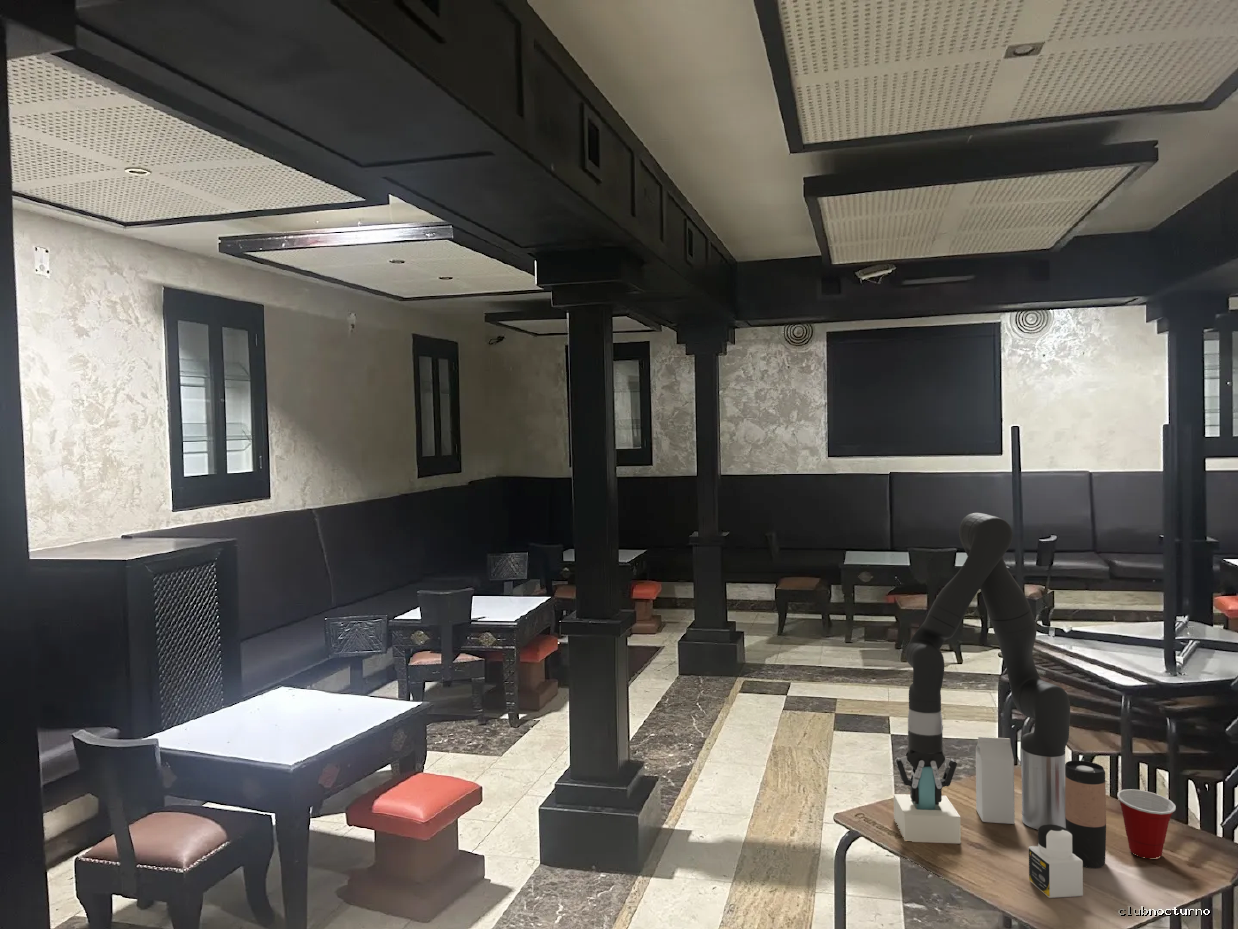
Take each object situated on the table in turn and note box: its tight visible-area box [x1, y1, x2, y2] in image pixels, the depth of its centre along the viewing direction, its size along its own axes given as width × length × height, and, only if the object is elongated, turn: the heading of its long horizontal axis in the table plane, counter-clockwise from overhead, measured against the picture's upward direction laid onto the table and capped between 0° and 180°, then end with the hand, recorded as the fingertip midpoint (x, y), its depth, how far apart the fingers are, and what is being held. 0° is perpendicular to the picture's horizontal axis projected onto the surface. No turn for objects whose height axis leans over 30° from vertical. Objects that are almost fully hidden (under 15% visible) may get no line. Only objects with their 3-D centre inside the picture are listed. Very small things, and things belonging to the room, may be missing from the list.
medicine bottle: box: [1028, 824, 1084, 899], centre depth 171 cm, size 7×7×12 cm
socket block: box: [893, 793, 962, 844], centre depth 198 cm, size 12×12×6 cm
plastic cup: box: [1116, 788, 1177, 858], centre depth 185 cm, size 11×11×12 cm
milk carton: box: [975, 736, 1016, 825], centre depth 204 cm, size 7×7×19 cm
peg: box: [917, 767, 935, 810], centre depth 197 cm, size 4×4×12 cm
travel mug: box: [1065, 759, 1107, 869], centre depth 182 cm, size 8×8×20 cm
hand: (925, 802), depth 197 cm, fingers closed on peg, 4 cm apart
